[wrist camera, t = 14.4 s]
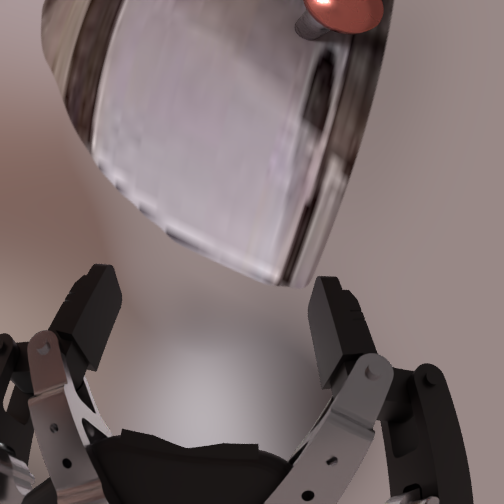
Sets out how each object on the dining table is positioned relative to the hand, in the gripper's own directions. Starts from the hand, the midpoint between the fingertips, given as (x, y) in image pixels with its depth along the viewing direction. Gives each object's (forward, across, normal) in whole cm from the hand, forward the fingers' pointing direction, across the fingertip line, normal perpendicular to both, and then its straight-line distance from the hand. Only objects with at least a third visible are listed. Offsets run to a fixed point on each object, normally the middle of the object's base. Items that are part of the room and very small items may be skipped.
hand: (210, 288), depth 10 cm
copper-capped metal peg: (+28, -8, -20) cm, 35 cm away
